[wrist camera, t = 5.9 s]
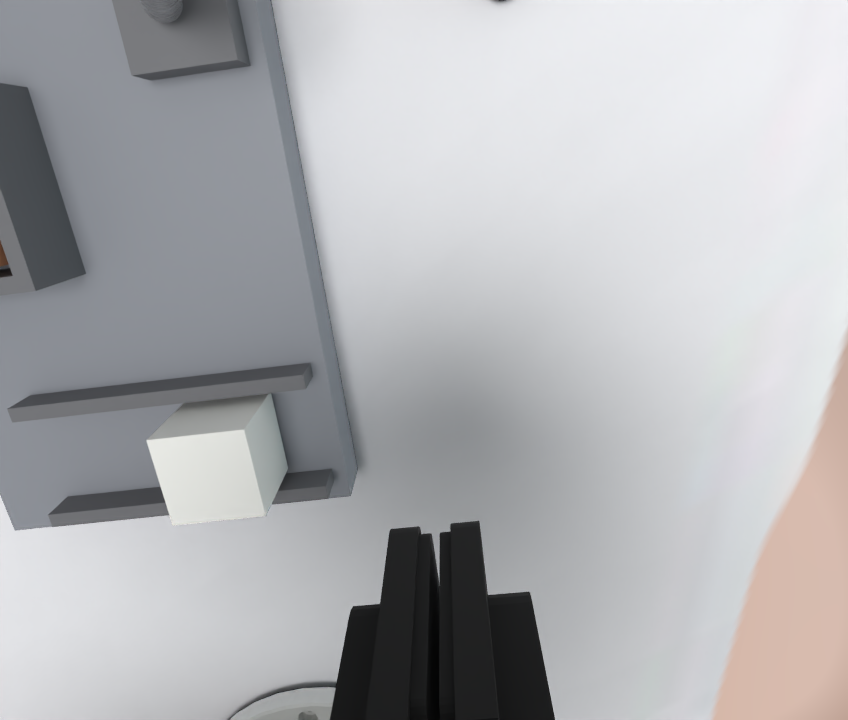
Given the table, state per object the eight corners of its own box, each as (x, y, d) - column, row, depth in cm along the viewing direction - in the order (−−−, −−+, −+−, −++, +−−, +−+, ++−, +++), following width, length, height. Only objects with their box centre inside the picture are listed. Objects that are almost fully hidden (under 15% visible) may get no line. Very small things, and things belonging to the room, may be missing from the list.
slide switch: (288, 468, 21) (265, 516, 19) (207, 476, 22) (172, 525, 19) (270, 391, 20) (244, 429, 18) (185, 401, 21) (146, 440, 18)
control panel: (357, 468, 24) (340, 538, 20) (47, 501, 25) (-36, 575, 20) (260, -54, 18) (205, -120, 14) (-141, 9, 19) (-314, -33, 15)
